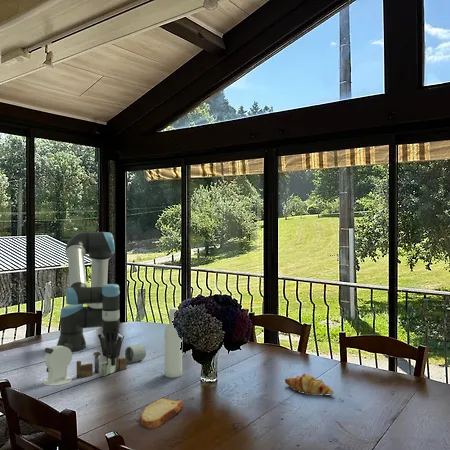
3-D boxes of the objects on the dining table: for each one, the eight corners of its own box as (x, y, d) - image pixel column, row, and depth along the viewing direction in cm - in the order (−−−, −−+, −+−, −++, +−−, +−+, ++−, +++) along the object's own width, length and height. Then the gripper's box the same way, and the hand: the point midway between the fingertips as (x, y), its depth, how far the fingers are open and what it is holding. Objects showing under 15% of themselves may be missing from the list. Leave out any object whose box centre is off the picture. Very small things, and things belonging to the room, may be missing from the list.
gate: (112, 369, 204) (112, 357, 204) (115, 370, 203) (116, 358, 203) (101, 375, 196) (101, 363, 196) (104, 376, 196) (104, 363, 196)
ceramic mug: (147, 360, 220) (147, 345, 220) (133, 364, 214) (133, 348, 214) (134, 356, 228) (134, 341, 228) (120, 360, 222) (120, 344, 222)
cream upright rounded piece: (62, 374, 199) (63, 341, 199) (78, 379, 193) (78, 345, 193) (38, 382, 190) (38, 346, 190) (53, 387, 183) (54, 351, 183)
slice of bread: (145, 430, 146) (145, 419, 146) (131, 410, 163) (132, 399, 163) (195, 421, 154) (195, 410, 154) (178, 402, 170) (178, 392, 170)
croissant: (335, 403, 178) (339, 383, 181) (328, 398, 170) (332, 377, 173) (287, 391, 189) (291, 372, 192) (278, 386, 182) (282, 366, 185)
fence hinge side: (112, 370, 206) (113, 349, 206) (124, 367, 209) (124, 347, 209) (114, 371, 204) (114, 350, 204) (126, 369, 207) (126, 348, 207)
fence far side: (75, 377, 196) (76, 361, 196) (91, 374, 200) (91, 358, 200) (77, 378, 194) (77, 362, 194) (92, 375, 198) (92, 359, 198)
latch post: (93, 372, 202) (93, 352, 202) (98, 371, 204) (98, 351, 204) (95, 373, 200) (95, 353, 200) (100, 372, 202) (100, 353, 202)
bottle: (166, 371, 204) (166, 306, 204) (183, 372, 204) (183, 306, 204) (163, 377, 196) (163, 309, 196) (180, 378, 196) (181, 310, 196)
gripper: (93, 319, 196) (94, 373, 196) (117, 322, 191) (117, 377, 191) (105, 316, 203) (105, 368, 203) (127, 319, 198) (128, 371, 198)
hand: (111, 372), depth 197 cm, fingers closed
